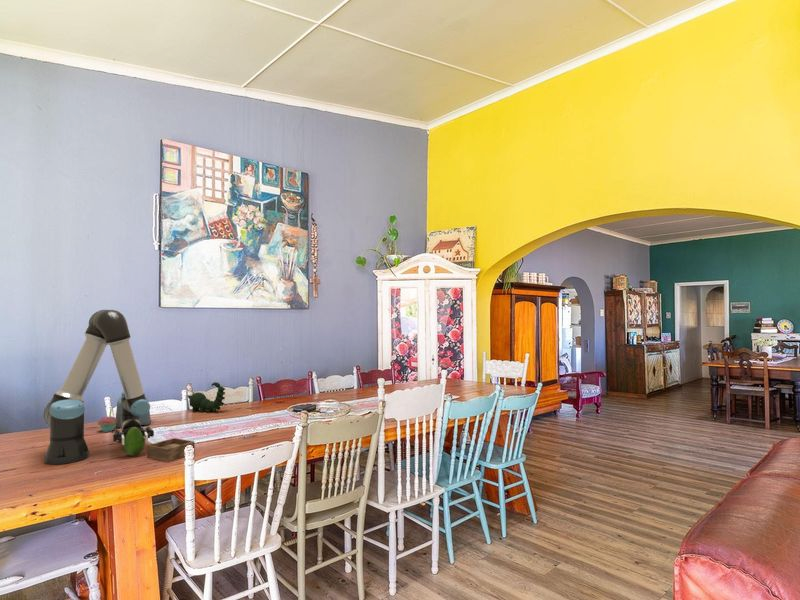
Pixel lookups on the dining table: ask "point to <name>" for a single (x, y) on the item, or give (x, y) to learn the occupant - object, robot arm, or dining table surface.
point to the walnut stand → (168, 449)
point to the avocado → (134, 441)
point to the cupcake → (107, 423)
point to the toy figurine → (207, 400)
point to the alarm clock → (143, 419)
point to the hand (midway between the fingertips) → (135, 439)
